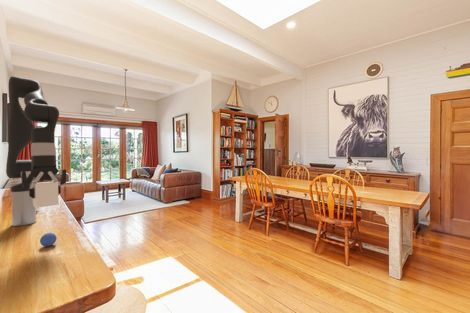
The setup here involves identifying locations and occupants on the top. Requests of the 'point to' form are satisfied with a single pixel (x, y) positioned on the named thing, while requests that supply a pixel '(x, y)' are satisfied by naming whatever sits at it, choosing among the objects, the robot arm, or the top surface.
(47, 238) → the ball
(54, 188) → the white block
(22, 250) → the top surface
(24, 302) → the top surface
